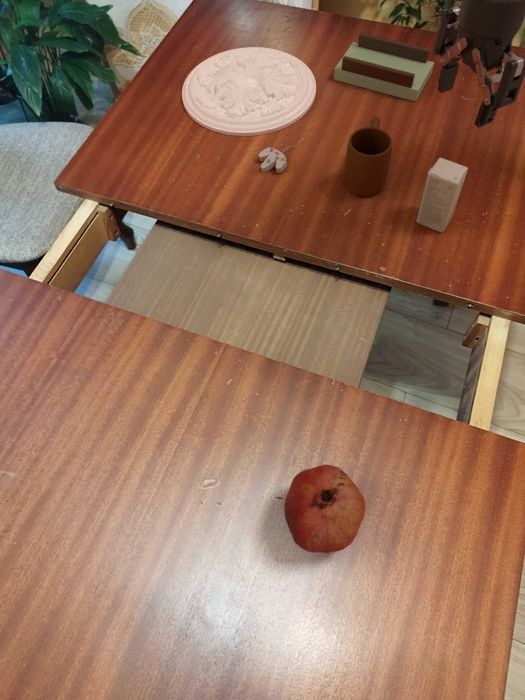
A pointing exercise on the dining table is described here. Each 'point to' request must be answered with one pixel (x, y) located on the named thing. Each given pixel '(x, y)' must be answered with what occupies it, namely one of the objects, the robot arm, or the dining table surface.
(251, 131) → the ceiling medallion
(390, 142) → the mug
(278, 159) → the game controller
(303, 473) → the fruit
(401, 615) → the dining table surface
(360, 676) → the dining table surface
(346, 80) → the green base with ridges
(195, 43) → the dining table surface
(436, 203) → the box
